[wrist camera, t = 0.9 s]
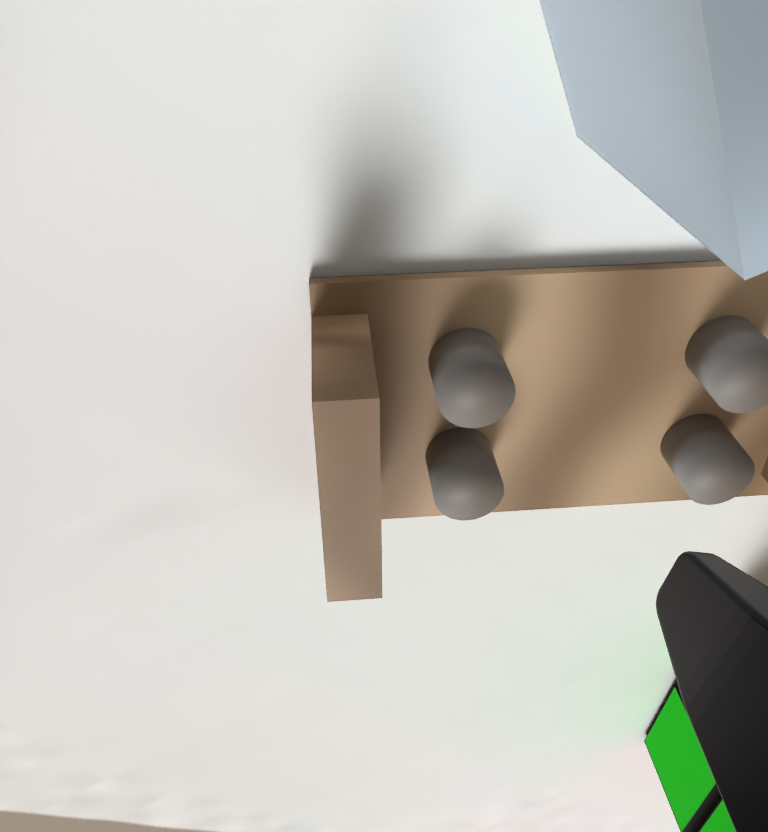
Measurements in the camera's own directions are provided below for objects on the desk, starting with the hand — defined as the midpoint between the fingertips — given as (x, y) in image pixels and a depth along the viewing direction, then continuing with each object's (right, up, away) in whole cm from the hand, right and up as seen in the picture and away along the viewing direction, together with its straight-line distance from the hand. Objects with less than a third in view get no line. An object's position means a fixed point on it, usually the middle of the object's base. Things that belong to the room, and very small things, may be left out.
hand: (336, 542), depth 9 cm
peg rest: (+7, +2, +14) cm, 16 cm away
